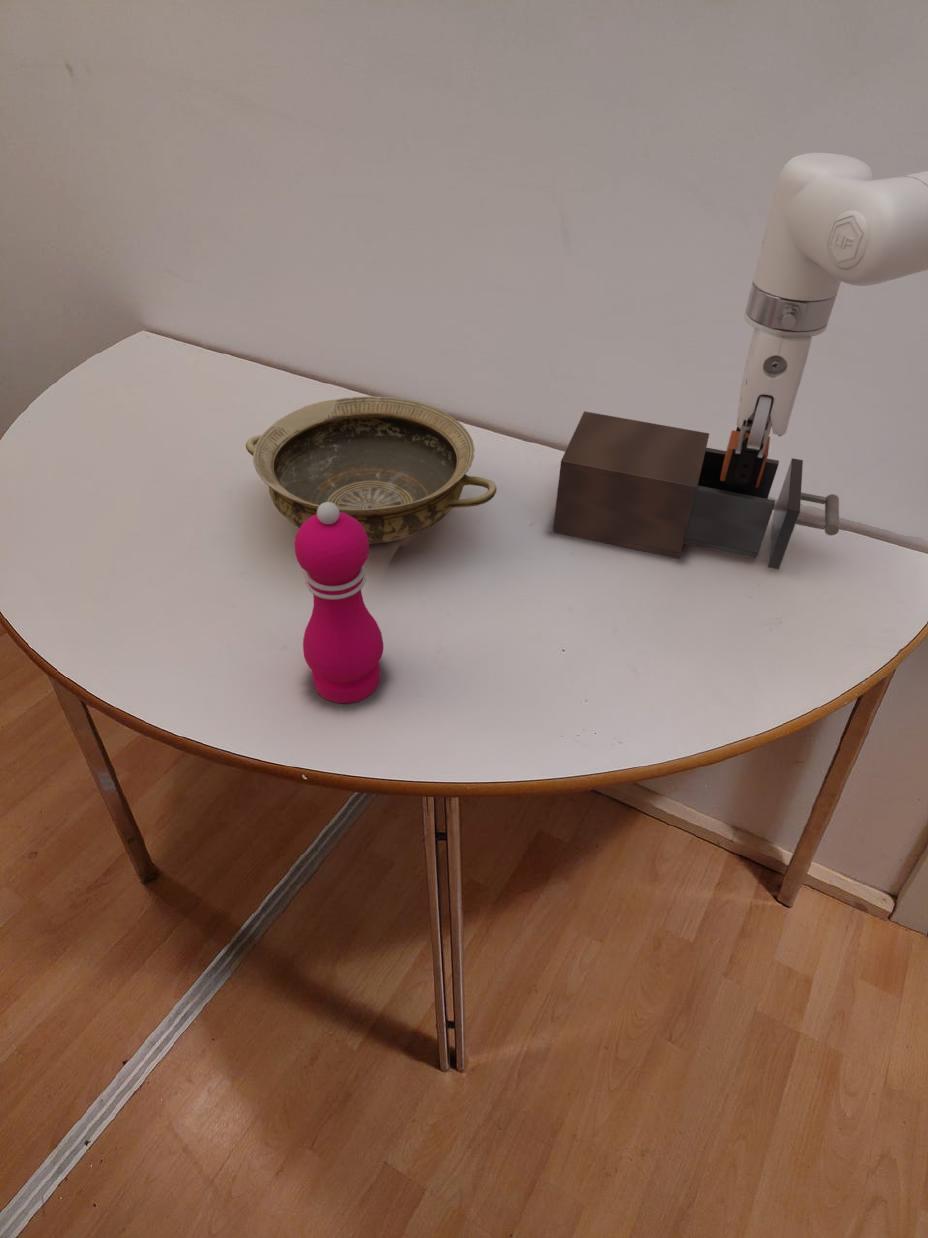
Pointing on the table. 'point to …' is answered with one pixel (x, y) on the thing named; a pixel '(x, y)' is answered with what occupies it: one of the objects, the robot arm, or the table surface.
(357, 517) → the ceramic bowl
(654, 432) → the cabinet
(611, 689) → the table surface
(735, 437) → the block
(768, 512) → the drawer
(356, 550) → the pepper mill
